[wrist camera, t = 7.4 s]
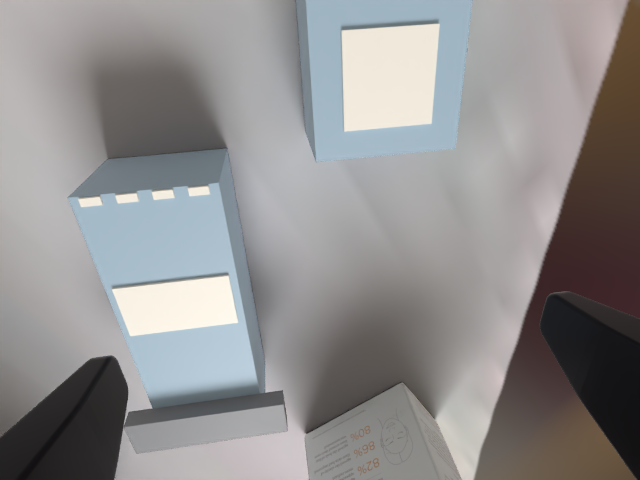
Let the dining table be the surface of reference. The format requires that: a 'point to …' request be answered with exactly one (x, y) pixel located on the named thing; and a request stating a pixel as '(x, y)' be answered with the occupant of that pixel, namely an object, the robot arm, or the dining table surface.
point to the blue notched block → (180, 296)
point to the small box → (381, 443)
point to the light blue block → (381, 75)
